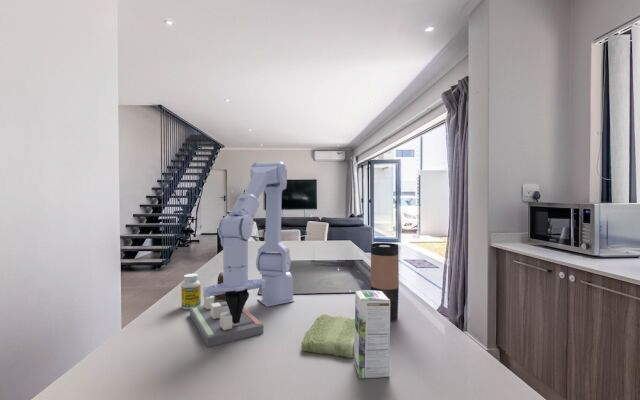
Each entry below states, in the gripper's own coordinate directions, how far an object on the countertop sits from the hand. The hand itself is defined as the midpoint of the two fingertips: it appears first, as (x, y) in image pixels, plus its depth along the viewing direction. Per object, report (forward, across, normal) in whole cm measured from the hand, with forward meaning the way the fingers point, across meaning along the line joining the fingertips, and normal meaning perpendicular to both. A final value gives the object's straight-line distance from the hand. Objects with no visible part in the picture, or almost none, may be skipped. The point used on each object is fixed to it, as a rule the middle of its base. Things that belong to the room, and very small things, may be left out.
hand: (235, 321), depth 74 cm
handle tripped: (+1, -2, 0) cm, 2 cm away
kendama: (+3, +9, +36) cm, 37 cm away
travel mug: (+3, +38, -11) cm, 40 cm away
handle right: (+1, -3, +16) cm, 16 cm away
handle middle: (+1, -3, +8) cm, 8 cm away
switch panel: (+3, -1, +8) cm, 9 cm away
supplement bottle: (+3, -6, +26) cm, 27 cm away
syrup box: (+3, +17, -29) cm, 34 cm away
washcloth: (+4, +19, -14) cm, 24 cm away
